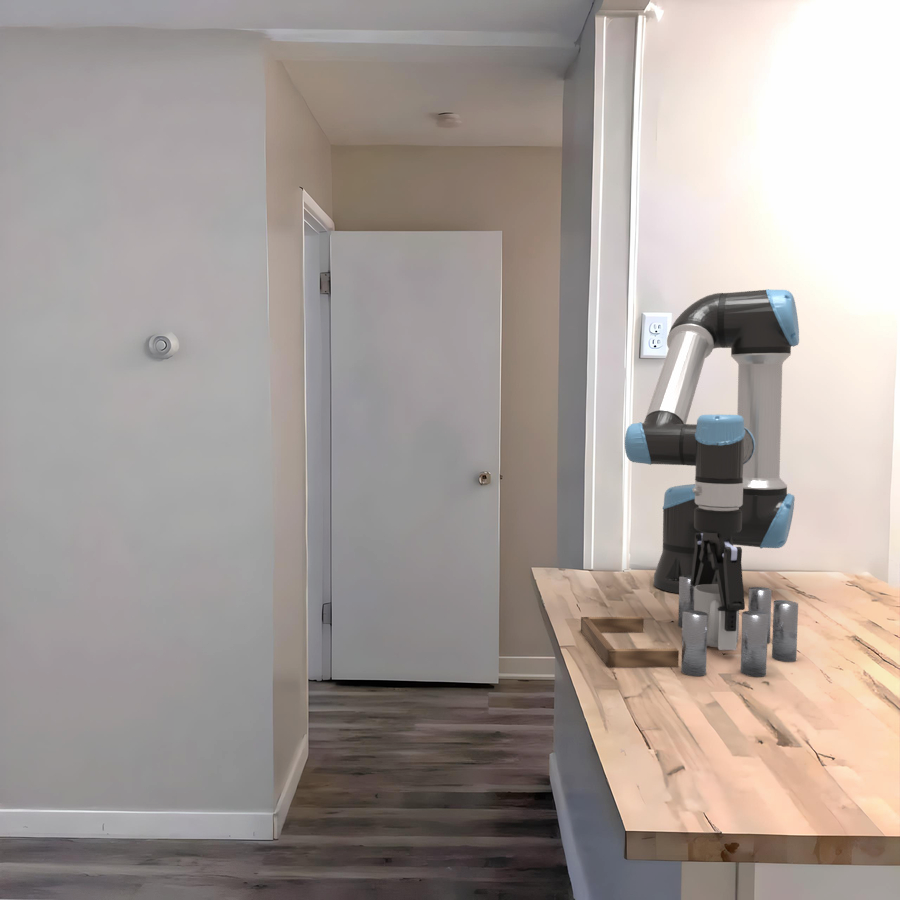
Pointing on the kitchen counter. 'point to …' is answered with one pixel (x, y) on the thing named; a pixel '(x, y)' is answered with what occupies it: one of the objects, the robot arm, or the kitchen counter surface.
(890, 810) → the kitchen counter surface
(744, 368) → the robot arm
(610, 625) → the bay
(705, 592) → the cup
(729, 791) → the kitchen counter surface
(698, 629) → the spacers
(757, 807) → the kitchen counter surface
